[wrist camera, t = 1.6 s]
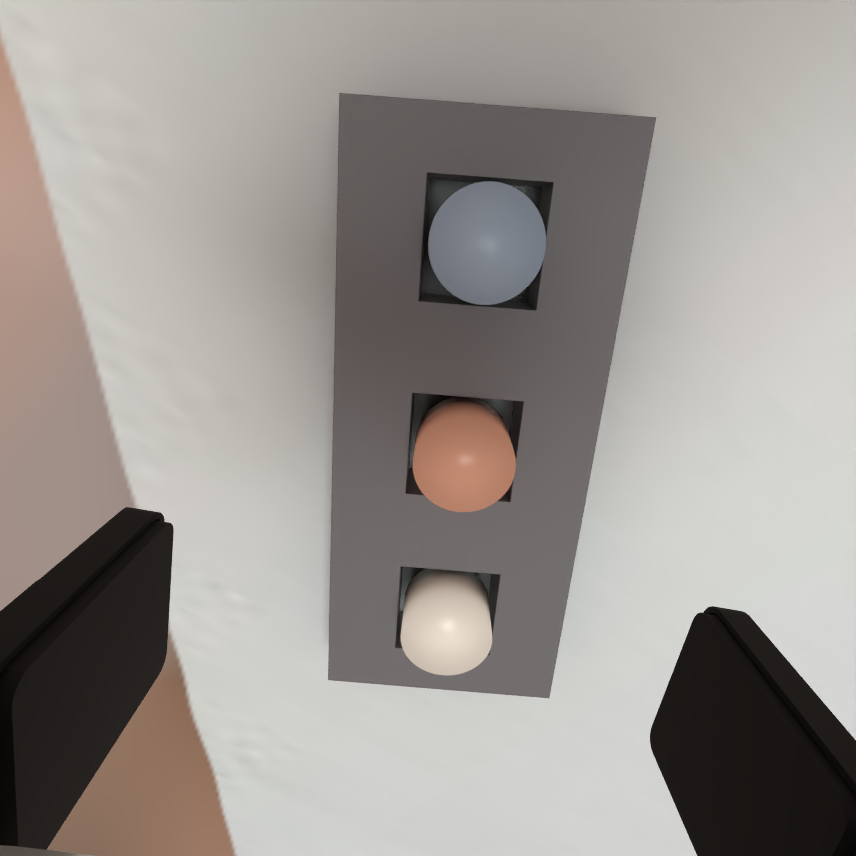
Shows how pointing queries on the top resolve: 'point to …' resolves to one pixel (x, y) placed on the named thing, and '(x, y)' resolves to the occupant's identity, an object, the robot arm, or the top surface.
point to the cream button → (446, 621)
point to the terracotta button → (463, 455)
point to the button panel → (471, 372)
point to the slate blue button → (487, 243)
